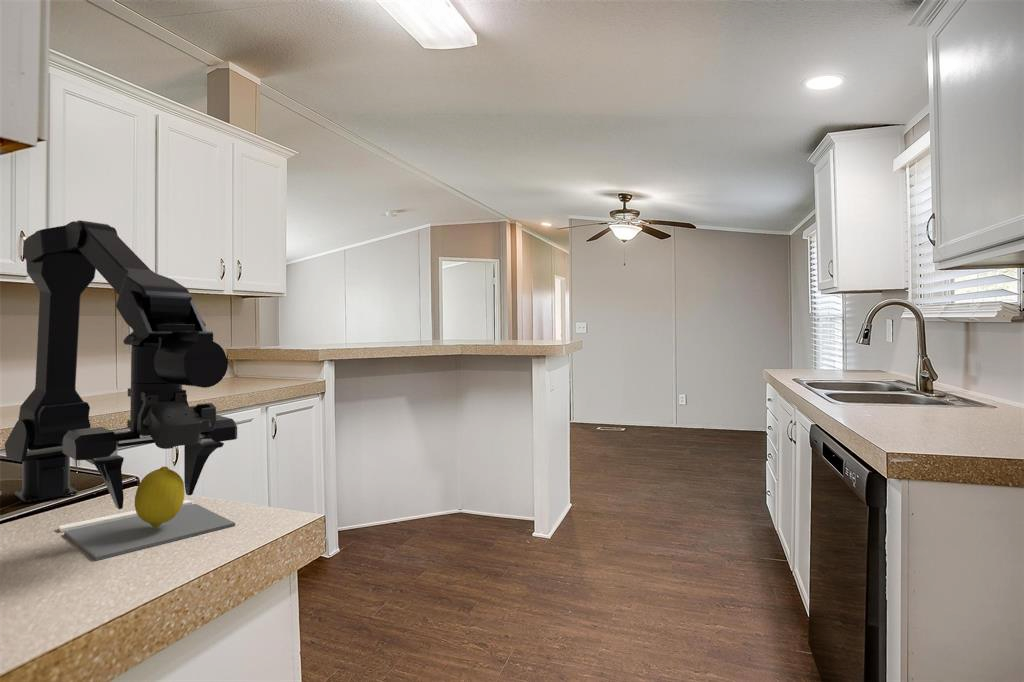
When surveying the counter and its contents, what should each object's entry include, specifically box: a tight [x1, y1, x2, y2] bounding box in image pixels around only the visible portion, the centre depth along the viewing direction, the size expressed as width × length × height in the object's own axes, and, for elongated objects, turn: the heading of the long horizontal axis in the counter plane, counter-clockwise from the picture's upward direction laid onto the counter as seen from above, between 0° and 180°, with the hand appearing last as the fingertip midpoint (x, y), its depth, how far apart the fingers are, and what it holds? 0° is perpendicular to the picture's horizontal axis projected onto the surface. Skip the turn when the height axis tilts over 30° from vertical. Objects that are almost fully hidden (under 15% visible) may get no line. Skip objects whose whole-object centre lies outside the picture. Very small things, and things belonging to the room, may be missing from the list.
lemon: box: [134, 466, 185, 527], centre depth 77 cm, size 6×6×8 cm
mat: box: [63, 503, 236, 561], centre depth 78 cm, size 12×16×1 cm
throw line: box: [57, 499, 193, 533], centre depth 83 cm, size 2×16×1 cm, turn 141°
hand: (155, 501), depth 77 cm, fingers open, 8 cm apart
